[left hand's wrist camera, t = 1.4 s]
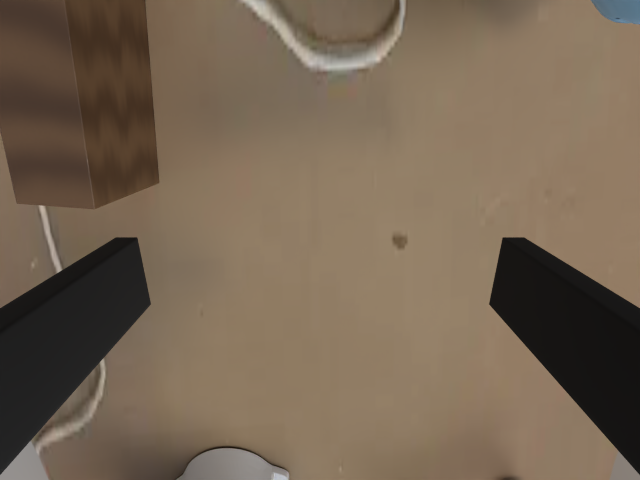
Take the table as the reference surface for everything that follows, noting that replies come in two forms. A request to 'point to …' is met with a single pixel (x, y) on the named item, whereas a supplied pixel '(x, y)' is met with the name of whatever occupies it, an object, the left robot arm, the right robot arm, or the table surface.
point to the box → (76, 101)
